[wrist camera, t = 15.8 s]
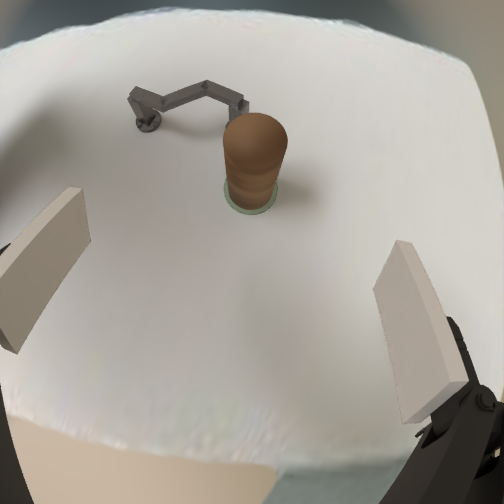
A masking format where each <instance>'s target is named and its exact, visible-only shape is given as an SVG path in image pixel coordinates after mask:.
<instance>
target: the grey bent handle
mask: <svg viewBox="0 0 504 504" xmlns="http://www.w3.org/2000/svg"><path fill="white" fill-rule="evenodd" d="M204 96H209V97H211V98H213V99H216V100H218V101H220V102H223V103H225V104H227V105H229V122H228V123H227V125H226V128H227V126H228V125H229V123H230V122H231V121H233V120H234V119H235V118H237V117H239V116H241V115H244V114H248V113H249V101H246V100H244V95H242V94H240V93H238V92H235V91H233V90H231V89H228V88H226V87H223V86H221V85H219V84H216V83H214V82H211V81H209V80H205V81H202V82H200V83H197V84H194V85H191V86H189V87H186V88H183V89H181V90H178V91H176V92H173V93H170V94H168V95H166V96H160V95H158V94H155V93H153V92H150V91H147V90H145V89H142V88H140V87H137V86H135V88H134V89H133V90H132V91H131V92H130V96H129V97H128V99H127V100H128V102H129V104H130V105H131V107H132V109H133V111H134V113H135V115H136V117H137V119H136V125H137V127H138V128H139V130H141V131H143V132H150V131H153V130H155V129H156V128H157V127H158V126H159V124H160V122H161V117H160V114H159V113H158V111H161V112H163V113H164V112H166V111H168V110H170V109H173V108H175V107H178V106H180V105H183V104H185V103H188V102H191V101H193V100H196V99H199V98H201V97H204ZM154 109H156V110H158V111H156V110H154Z"/></svg>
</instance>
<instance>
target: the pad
mask: <svg viewBox="0 0 504 504" xmlns="http://www.w3.org/2000/svg"><path fill="white" fill-rule="evenodd" d="M224 193H225V197H226V200H227V202H228V203H229V205H230V206H231V207H232V208H233V209H235V210H236V211H238V212H240V213H243V214H247V215H255V214H259V213H262V212H264V211H266V210H267V209H268V208H269V207H270V206H271V205H272V204H273V202H274V201H275V198H276V195H277V183H275V186H274V190H273V193H272V196H271V198H270V200H269V201H268V203H267V204H266V205H264V206H263V207H261V208H259V209H255V210H246V209H242V208H240V207H238V206H237V205H236V204H234V202H233V201H232V200H231V198H230V196H229V192H228V184H227V178H226V181H225V184H224Z"/></svg>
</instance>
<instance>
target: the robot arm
mask: <svg viewBox="0 0 504 504" xmlns="http://www.w3.org/2000/svg"><path fill="white" fill-rule="evenodd" d="M90 242H91V239H90V234H89V228H88V222H87V216H86V209H85V202H84V195H83V188H75V187H68V188H67V189H66V190H64V191H63V192H62V193H61V194H60V195H59V196H58V197H57V198H56V199H55V200H54V201H53V202H52V203H50V204H49V205H48V206H47V207H46V208H45V209H44V210H43V211H42V212H41V213H40V214H39V215H38V216H37V217H36V218H35V219H34V220H33V221H32V222H31V223H30V224H29V225H28V226H27V227H26V228H25V229H24V230H23V231H22V232H21V234H20V235H19V236H18V237H17V238H16V239H15V240H14V241H13V242H12V243H9V244H8V245H6V246H5V247H3V248H2V249H1V250H0V344H1V346H2V347H3V348H4V349H6V350H8V351H11V352H13V353H15V354H18V352H19V351H20V349H21V347H22V345H23V343H24V342H25V340H26V338H27V336H28V335H29V333H30V331H31V330H32V328H33V326H34V325H35V323H36V321H37V320H38V318H39V316H40V315H41V313H42V311H43V310H44V308H45V307H46V305H47V304H48V302H49V300H50V299H51V297H52V296H53V294H54V293H55V291H56V290H57V288H58V287H59V285H60V284H61V282H62V281H63V279H64V278H65V276H66V275H67V274H68V272H69V271H70V269H71V268H72V266H73V265H74V264H75V262H76V261H77V259H78V258H79V257H80V255H81V254H82V252H83V251H84V250H85V248H86V247H87V246H88V244H89V243H90ZM373 291H374V295H375V298H376V302H377V306H378V309H379V313H380V317H381V321H382V325H383V329H384V333H385V338H386V342H387V346H388V351H389V355H390V360H391V364H392V369H393V374H394V379H395V384H396V389H397V395H398V400H399V406H400V412H401V418H402V424H407V423H420V422H422V421H423V420H424V419H425V418H427V417H428V416H429V415H431V420H432V422H431V423H430V424H429V425H427V426H426V427H425V428H423V429H422V430H420V431H419V432H418V433H417V434H416V435H415V437H419V436H420V435H421V434H423V435H422V437H421V439H420V440H419V442H418V444H417V446H416V447H415V449H414V451H413V453H412V454H411V456H410V458H409V459H408V461H407V463H406V464H405V466H404V467H403V469H402V471H401V472H400V474H399V475H398V477H397V478H396V480H395V481H394V483H393V484H392V486H391V487H390V489H389V490H388V491H387V493H386V494H385V496H384V497H383V499H382V500H381V501H380V503H379V504H504V403H502V402H499V401H497V400H496V397H495V395H494V393H493V392H492V391H491V390H490V389H489V388H488V387H486V386H484V385H480V384H479V381H478V378H477V375H476V372H475V369H474V366H473V363H472V360H471V358H470V355H469V352H468V351H467V347H466V344H465V342H464V341H463V337H462V334H461V332H460V329H459V327H458V326H457V324H456V323H455V322H454V321H453V319H452V318H451V317H446V316H445V313H444V311H443V309H442V306H441V304H440V302H439V299H438V297H437V295H436V292H435V290H434V288H433V286H432V284H431V281H430V279H429V277H428V275H427V273H426V271H425V269H424V266H423V264H422V262H421V260H420V258H419V256H418V254H417V252H416V250H415V248H414V246H413V244H412V243H410V242H405V241H400V240H396V242H395V244H394V246H393V249H392V251H391V253H390V255H389V257H388V259H387V261H386V263H385V265H384V267H383V269H382V271H381V273H380V275H379V277H378V279H377V281H376V283H375V285H374V287H373ZM499 448H500V455H499V456H497V457H495V450H497V449H499ZM0 504H34V502H33V500H32V497H31V495H30V492H29V490H28V487H27V484H26V482H25V479H24V477H23V473H22V470H21V467H20V464H19V461H18V458H17V455H16V451H15V448H14V445H13V441H12V437H11V433H10V429H9V425H8V421H7V417H6V412H5V407H4V402H3V397H2V391H1V385H0Z"/></svg>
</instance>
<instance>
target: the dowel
mask: <svg viewBox="0 0 504 504" xmlns="http://www.w3.org/2000/svg"><path fill="white" fill-rule="evenodd" d="M287 144H288V139H287V134H286V132H285V129H284V128H283V126H282V125H281V124H280V123H279V122H278V121H277V120H276V119H274V118H272V117H271V116H268V115H265V114H261V113H248V114H244V115H241V116H239V117H237V118H235V119H234V120H233V121H231V122H230V123H229V125H228V126H227V128H226V129H225V132H224V135H223V146H224V156H225V165H226V175H227V184H228V192H229V196H230V198H231V200H232V201H233V202H234V204H236V205H237V206H238V207H240V208H242V209H246V210H255V209H259V208H261V207H263V206H264V205H266V204H267V203H268V201H269V200H270V198H271V196H272V193H273V190H274V186H275V183H276V180H277V177H278V174H279V171H280V168H281V164H282V161H283V158H284V155H285V152H286V149H287Z"/></svg>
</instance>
